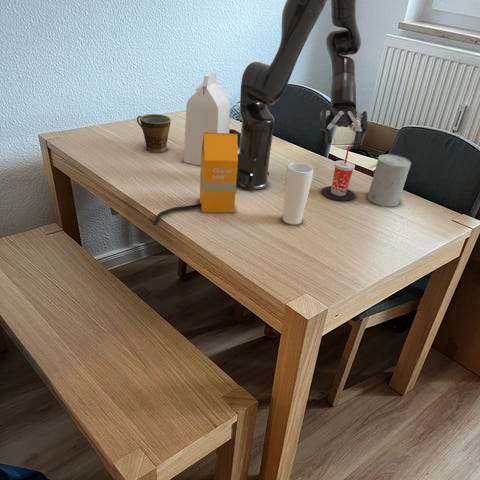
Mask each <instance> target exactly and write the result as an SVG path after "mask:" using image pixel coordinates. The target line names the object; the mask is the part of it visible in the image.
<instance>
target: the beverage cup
mask: <svg viewBox="0 0 480 480" xmlns="http://www.w3.org/2000/svg"><path fill="white" fill-rule="evenodd" d="M349 151H350V146H347V150H346V153H345V159H344V160H343V159H342V160H341V159H338V160H336V161H334V165H333V166H334V169H333V175H332V176H333V177H332V182H331V186H332V188H331V193H332V194H334V195H338V196H344V195H346V191H347V189H348V188H349V184H350V181H351V178H352V175H353V172H354V170H355V168H356V165H355V163H354V162H352V161H349V160H348V157H349Z"/></svg>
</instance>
